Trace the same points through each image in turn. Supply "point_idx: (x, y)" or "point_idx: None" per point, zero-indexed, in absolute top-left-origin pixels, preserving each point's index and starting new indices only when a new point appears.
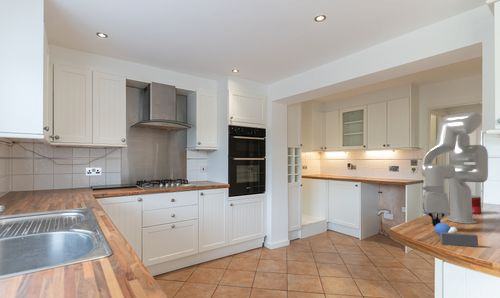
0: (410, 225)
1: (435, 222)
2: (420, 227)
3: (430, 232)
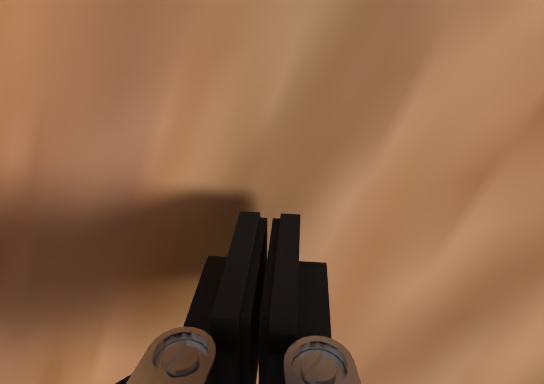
0: (529, 377)
1: (297, 274)
2: (446, 310)
3: (458, 38)
